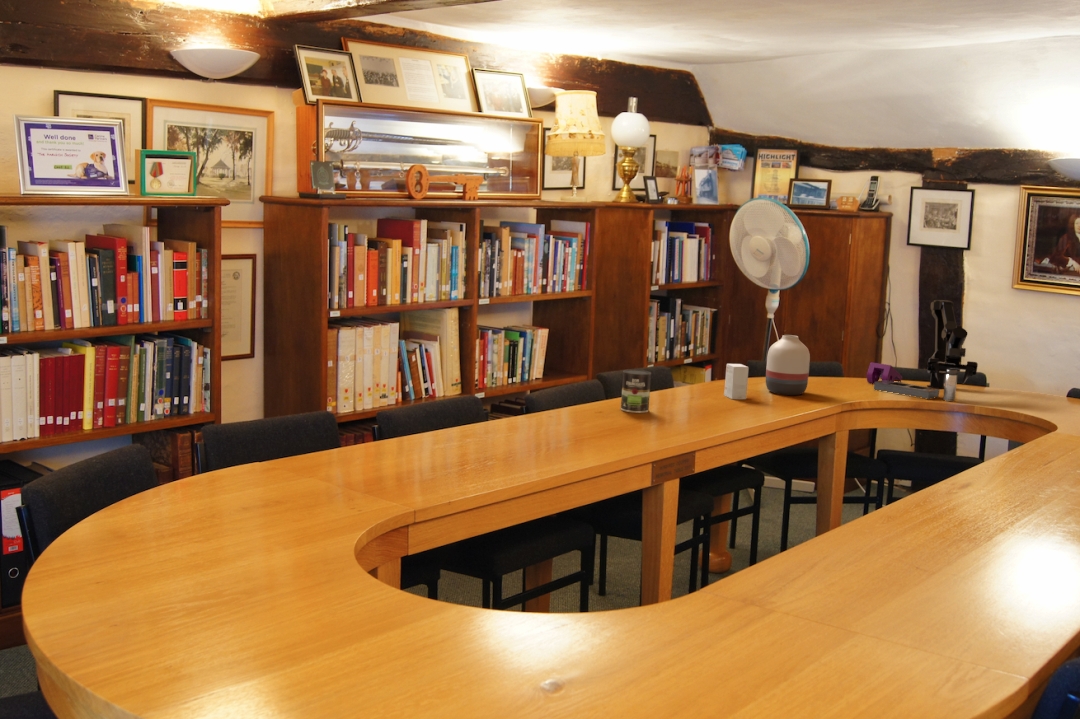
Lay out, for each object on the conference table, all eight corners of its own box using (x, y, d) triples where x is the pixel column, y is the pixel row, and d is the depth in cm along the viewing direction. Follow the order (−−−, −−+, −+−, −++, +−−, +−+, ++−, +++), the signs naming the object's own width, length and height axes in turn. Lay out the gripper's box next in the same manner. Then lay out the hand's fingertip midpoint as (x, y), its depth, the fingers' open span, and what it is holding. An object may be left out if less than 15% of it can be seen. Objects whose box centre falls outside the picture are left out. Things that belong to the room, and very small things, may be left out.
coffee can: (648, 414, 339) (650, 375, 337) (619, 411, 341) (621, 373, 338) (650, 408, 349) (652, 370, 347) (622, 406, 351) (624, 368, 348)
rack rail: (884, 387, 415) (885, 379, 414) (938, 397, 397) (939, 388, 397) (873, 390, 408) (874, 381, 408) (928, 399, 391) (929, 390, 390)
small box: (746, 399, 374) (749, 366, 372) (731, 399, 373) (733, 366, 371) (738, 395, 382) (741, 363, 380) (723, 395, 381) (726, 363, 379)
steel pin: (945, 399, 394) (949, 368, 392) (956, 401, 390) (960, 369, 388) (940, 400, 391) (944, 369, 389) (951, 402, 387) (955, 370, 385)
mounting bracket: (880, 393, 436) (864, 379, 423) (885, 376, 437) (870, 362, 424) (900, 396, 429) (885, 383, 416) (905, 379, 430) (890, 365, 418)
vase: (789, 388, 404) (794, 332, 400) (815, 396, 388) (820, 338, 385) (756, 389, 397) (760, 333, 394) (781, 397, 382) (786, 339, 378)
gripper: (930, 338, 395) (927, 368, 386) (979, 342, 388) (978, 373, 380) (928, 355, 403) (925, 384, 395) (976, 359, 396) (975, 389, 388)
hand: (950, 382), depth 389 cm, fingers open, 9 cm apart
